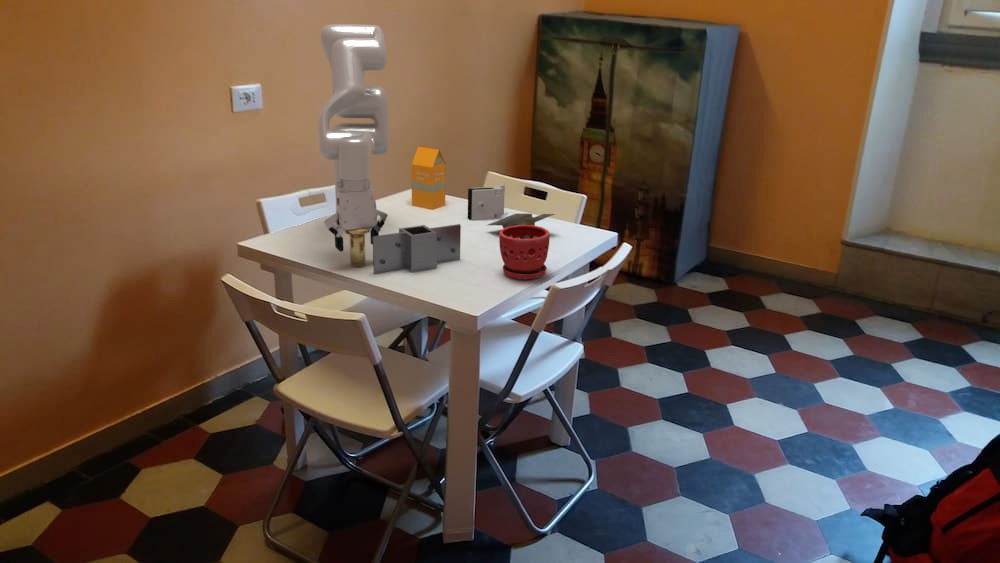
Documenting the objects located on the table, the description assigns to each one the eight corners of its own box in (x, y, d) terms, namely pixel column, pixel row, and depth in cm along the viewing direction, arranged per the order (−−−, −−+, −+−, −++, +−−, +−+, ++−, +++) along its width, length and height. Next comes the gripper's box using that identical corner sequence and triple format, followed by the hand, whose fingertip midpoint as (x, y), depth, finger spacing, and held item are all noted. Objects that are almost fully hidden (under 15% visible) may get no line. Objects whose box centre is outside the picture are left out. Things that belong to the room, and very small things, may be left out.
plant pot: (526, 262, 217) (528, 221, 212) (557, 276, 207) (560, 233, 203) (488, 271, 209) (489, 228, 205) (518, 286, 200) (520, 241, 195)
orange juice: (432, 210, 263) (432, 150, 256) (411, 205, 267) (410, 147, 260) (445, 205, 269) (446, 147, 262) (425, 200, 273) (424, 143, 266)
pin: (341, 263, 212) (340, 225, 208) (364, 259, 215) (363, 221, 211) (350, 270, 206) (349, 231, 202) (374, 266, 210) (373, 228, 206)
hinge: (502, 213, 262) (503, 184, 258) (510, 218, 257) (511, 188, 254) (465, 218, 255) (466, 188, 252) (473, 222, 251) (473, 192, 247)
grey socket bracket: (368, 268, 208) (367, 233, 204) (453, 254, 221) (453, 220, 217) (379, 277, 202) (379, 241, 198) (466, 262, 215) (466, 228, 211)
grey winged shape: (491, 250, 238) (518, 228, 227) (484, 224, 241) (510, 201, 229) (533, 250, 248) (561, 229, 236) (526, 225, 250) (553, 203, 239)
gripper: (328, 191, 195) (331, 256, 201) (391, 184, 204) (393, 247, 210) (317, 185, 201) (321, 248, 207) (380, 178, 210) (381, 239, 216)
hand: (357, 247), depth 209 cm, fingers open, 9 cm apart
